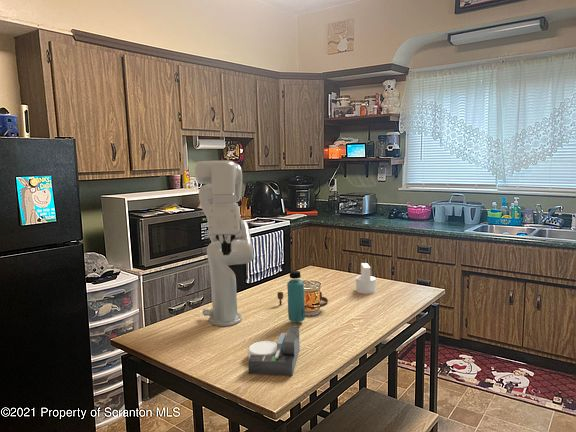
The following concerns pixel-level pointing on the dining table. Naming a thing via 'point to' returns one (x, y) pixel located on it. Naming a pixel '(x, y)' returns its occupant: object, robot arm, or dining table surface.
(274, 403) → the dining table surface
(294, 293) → the beverage bottle
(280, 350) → the gauge plunger
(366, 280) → the cylinder with rectangular tab
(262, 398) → the dining table surface
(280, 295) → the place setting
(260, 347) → the white round tin
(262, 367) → the frame
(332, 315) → the dining table surface
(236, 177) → the robot arm
